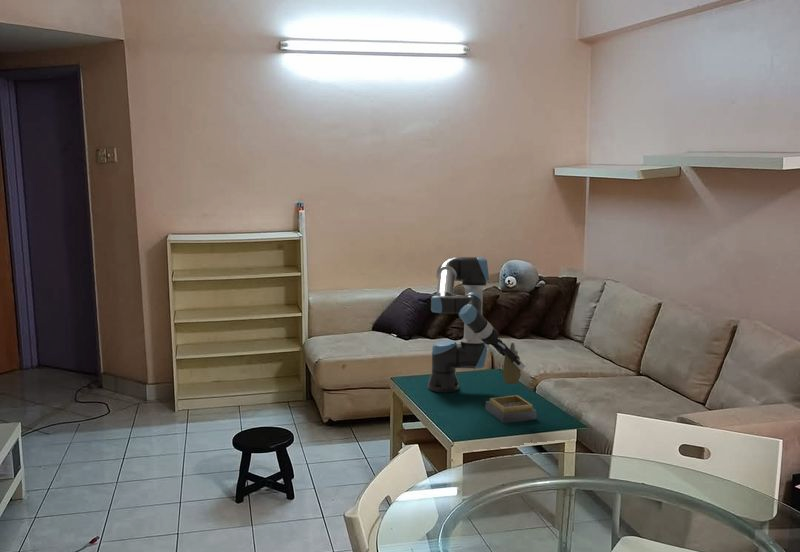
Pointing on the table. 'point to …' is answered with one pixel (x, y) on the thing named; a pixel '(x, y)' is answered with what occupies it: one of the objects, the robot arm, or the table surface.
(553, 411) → the table surface
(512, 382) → the squeeze bottle
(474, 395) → the table surface
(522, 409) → the square gold-rimmed tray
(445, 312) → the robot arm
